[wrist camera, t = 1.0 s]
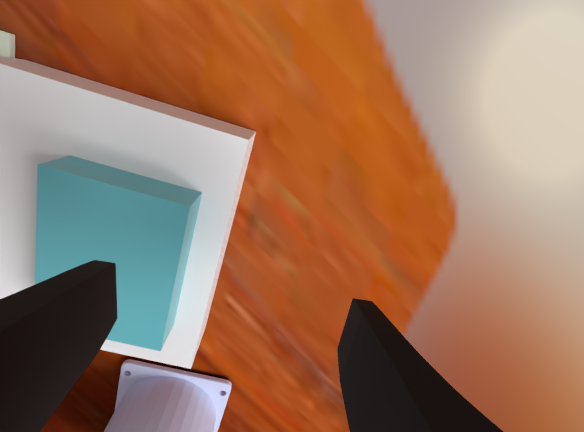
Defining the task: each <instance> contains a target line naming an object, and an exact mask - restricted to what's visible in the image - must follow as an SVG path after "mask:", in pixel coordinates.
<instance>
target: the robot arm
mask: <svg viewBox="0 0 584 432" xmlns="http://www.w3.org/2000/svg"><path fill="white" fill-rule="evenodd" d="M117 318H118V317H117V288H116V263H112V262H105V261H98V260H93V261H90V262H87V263H85V264H82V265H80V266H77V267H75V268H72V269H70V270H68V271H65V272H63V273H61V274H58V275H56V276H54V277H51V278H49V279H47V280H44V281H42V282H40V283H37V284H35V285H33V286H30V287H28V288H26V289H23V290H21V291H19V292H16V293H14V294H12V295H9V296H7V297H4V298H2V299H0V432H40V431H41V429H42V428H43V426H44V425H45V424H46V422H47V421H48V420H49V418H50V417H51V416H52V414H53V413H54V412H55V410H56V409H57V408H58V406H59V405H60V404H61V402H62V401H63V399H64V398H65V397H66V395H67V394H68V393H69V391H70V390H71V389H72V387H73V386H74V385H75V383H76V382H77V381H78V379H79V378H80V377H81V375H82V374H83V372H84V371H85V370H86V368H87V367H88V366H89V364H90V363H91V362H92V360H93V359H94V357H95V356H96V355H97V353H98V352H99V350H100V349H101V347H102V345H103V344H104V342H105V340H106V338H107V337H108V335H109V333H110V331H111V329H112V328H113V326H114V324H115V322H116V320H117ZM338 362H339V374H340V383H341V389H342V394H343V399H344V404H345V409H346V414H347V419H348V424H349V429H350V432H503V431H502V430H501V429H499V428H498V427H497V426H496V425H495V424H493V423H492V422H491V421H490V420H489V419H488V418H486V417H485V416H484V415H483V414H482V413H481V412H480V411H478V410H477V409H476V408H475V407H474V406H473V405H472V404H471V403H469V402H468V401H467V400H466V399H465V398H464V397H462V395H460V394H459V393H458V392H457V391H456V390H455V389H454V388H453V387H452V386H451V385H450V384H449V383H448V382H447V381H446V380H445V379H444V378H443V377H442V376H441V375H440V374H439V373H438V372H437V371H436V370H435V369H434V368H433V367H432V366H431V365H430V364H429V363H428V362H426V360H425V359H424V358H423V357H422V356H421V355H420V354H419V353H418V352H417V351H416V350H415V349H414V347H413V346H412V345H411V344H410V343H409V342H408V341H407V340H406V339H405V338H404V336H403V335H402V334H401V333H400V332H399V331H398V330H397V329H396V327H395V326H394V325H393V324H392V323H391V322H390V321H389V319H388V318H387V317H386V316H385V315H384V314H383V313H382V312H381V310H380V309H379V308H378V307H377V306H376V305H375V304H374V303H373V302H372V301H366V300H360V299H353V300H352V303H351V306H350V310H349V313H348V316H347V319H346V323H345V326H344V329H343V332H342V336H341V339H340V342H339V345H338ZM231 387H232V384H231V382H230V381H229V380H226V379H221V378H216V377H212V376H207V375H202V374H198V373H193V372H188V371H183V370H179V369H174V368H169V367H165V366H160V365H155V364H151V363H146V362H141V361H136V360H132V359H128V360H125V361H124V362H123V364H122V366H121V372H120V378H119V385H118V392H117V398H116V405H115V411H114V414H113V415H112V417H111V419H110V421H109V423H108V425H107V426H106V428H105V430H104V432H217V431H218V428H219V425H220V422H221V419H222V416H223V413H224V409H225V406H226V403H227V400H228V397H229V394H230V391H231Z"/></svg>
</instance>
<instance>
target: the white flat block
mask: <svg viewBox="0 0 584 432" xmlns="http://www.w3.org/2000/svg"><path fill="white" fill-rule="evenodd" d="M255 134H256V131H253V130H250V129H247V128H243V127H240V126H237V125H234V124H231V123H227V122H224V121H221V120H218V119H214V118H211V117H208V116H205V115H202V114H198V113H195V112H192V111H189V110H186V109H182V108H179V107H176V106H173V105H169V104H166V103H163V102H160V101H157V100H153V99H150V98H147V97H144V96H141V95H137V94H134V93H131V92H128V91H124V90H121V89H118V88H115V87H112V86H108V85H105V84H102V83H99V82H96V81H92V80H89V79H86V78H83V77H79V76H76V75H73V74H70V73H67V72H63V71H60V70H57V69H54V68H51V67H47V66H44V65H41V64H38V63H35V62H31V61H28V60H24V59H16V58H9V57H2V56H0V299H2V298H4V297H7V296H9V295H12V294H14V293H16V292H19V291H21V290H23V289H26V288H28V287H30V286H33V285H35V258H36V211H37V164H41V163H45V162H48V161H52V160H55V159H59V158H63V157H66V156H70V155H71V156H75V157H78V158H82V159H85V160H89V161H92V162H96V163H99V164H103V165H107V166H110V167H114V168H117V169H121V170H124V171H128V172H131V173H135V174H139V175H142V176H146V177H149V178H153V179H156V180H160V181H163V182H167V183H170V184H174V185H178V186H181V187H185V188H188V189H192V190H195V191H199V192H202V196H201V201H200V206H199V210H198V215H197V220H196V224H195V229H194V234H193V238H192V243H191V247H190V252H189V257H188V261H187V266H186V271H185V275H184V280H183V285H182V289H181V294H180V299H179V303H178V308H177V313H176V317H175V322H174V325H173V327H172V329H171V331H170V333H169V335H168V337H167V339H166V341H165V343H164V345H163V347H162V349H161V351H157V350H152V349H148V348H143V347H139V346H134V345H129V344H125V343H120V342H116V341H111V340H105V342H104V344H103V345H102V347H101V349H100V350H105V351H109V352H114V353H119V354H123V355H128V356H133V357H137V358H142V359H147V360H151V361H156V362H161V363H165V364H170V365H175V366H179V367H184V368H189V369H191V367H192V364H193V361H194V358H195V355H196V353H197V350H198V347H199V344H200V341H201V338H202V336H203V333H204V330H205V327H206V323H207V319H208V315H209V311H210V307H211V304H212V300H213V296H214V292H215V288H216V284H217V280H218V277H219V273H220V269H221V265H222V261H223V257H224V253H225V250H226V246H227V242H228V238H229V234H230V230H231V227H232V223H233V219H234V215H235V211H236V207H237V203H238V200H239V196H240V192H241V188H242V184H243V180H244V176H245V173H246V169H247V165H248V161H249V157H250V153H251V150H252V146H253V142H254V138H255Z"/></svg>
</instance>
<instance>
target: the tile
mask: <svg viewBox="0 0 584 432" xmlns="http://www.w3.org/2000/svg"><path fill="white" fill-rule="evenodd" d="M201 196H202V192H199V191H195V190H192V189H188V188H185V187H181V186H178V185H174V184H170V183H167V182H163V181H160V180H156V179H153V178H149V177H146V176H142V175H139V174H135V173H131V172H128V171H124V170H121V169H117V168H114V167H110V166H107V165H103V164H99V163H96V162H92V161H89V160H85V159H82V158H78V157H75V156H71V155H70V156H66V157H63V158H59V159H55V160H52V161H48V162H45V163H41V164H37V211H36V258H35V284H37V283H40V282H42V281H44V280H47V279H49V278H51V277H54V276H56V275H58V274H61V273H63V272H65V271H68V270H70V269H72V268H75V267H77V266H80V265H82V264H85V263H87V262H90V261H93V260H98V261H105V262H112V263H116V288H117V317H118V318H117V320H116V322H115V324H114V326H113V328H112V329H111V331H110V333H109V335H108V337H107V338H106V340H111V341H116V342H120V343H125V344H129V345H134V346H139V347H143V348H148V349H152V350H157V351H161V349H162V347H163V345H164V343H165V341H166V339H167V337H168V335H169V333H170V331H171V329H172V327H173V325H174V322H175V317H176V313H177V308H178V303H179V299H180V294H181V289H182V285H183V280H184V275H185V271H186V266H187V261H188V257H189V252H190V247H191V243H192V238H193V234H194V229H195V224H196V220H197V215H198V210H199V206H200V201H201Z"/></svg>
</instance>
